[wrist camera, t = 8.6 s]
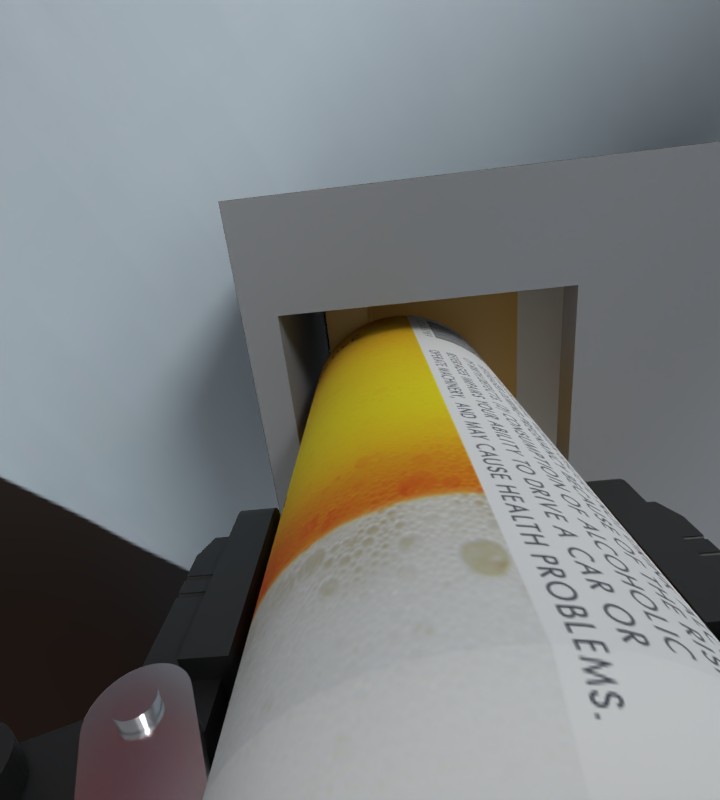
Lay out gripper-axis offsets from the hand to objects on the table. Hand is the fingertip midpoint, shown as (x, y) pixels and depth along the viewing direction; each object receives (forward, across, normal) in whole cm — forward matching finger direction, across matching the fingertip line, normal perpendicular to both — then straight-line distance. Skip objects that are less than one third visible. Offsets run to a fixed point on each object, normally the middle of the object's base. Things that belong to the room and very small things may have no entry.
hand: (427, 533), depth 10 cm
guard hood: (+14, -5, 0) cm, 15 cm away
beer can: (+9, 0, 0) cm, 9 cm away
